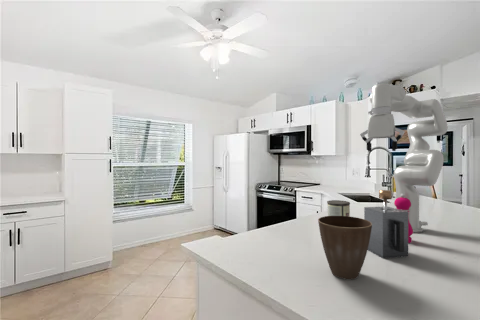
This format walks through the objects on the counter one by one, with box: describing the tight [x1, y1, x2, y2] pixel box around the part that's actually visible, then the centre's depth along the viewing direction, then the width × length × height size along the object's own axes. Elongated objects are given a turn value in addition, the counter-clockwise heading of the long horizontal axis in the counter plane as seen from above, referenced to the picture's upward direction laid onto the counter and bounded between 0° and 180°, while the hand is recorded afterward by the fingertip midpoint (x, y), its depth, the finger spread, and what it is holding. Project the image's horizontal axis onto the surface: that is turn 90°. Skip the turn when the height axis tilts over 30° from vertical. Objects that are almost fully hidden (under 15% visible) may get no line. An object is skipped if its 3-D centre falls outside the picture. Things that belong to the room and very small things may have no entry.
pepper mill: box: [393, 194, 414, 244], centre depth 105 cm, size 7×7×20 cm
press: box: [363, 205, 409, 259], centre depth 90 cm, size 10×13×16 cm
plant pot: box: [317, 215, 372, 280], centre depth 74 cm, size 15×15×16 cm
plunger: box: [378, 189, 393, 210], centre depth 92 cm, size 7×7×17 cm
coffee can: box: [326, 199, 351, 217], centre depth 120 cm, size 10×10×14 cm
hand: (381, 151), depth 109 cm, fingers open, 9 cm apart
